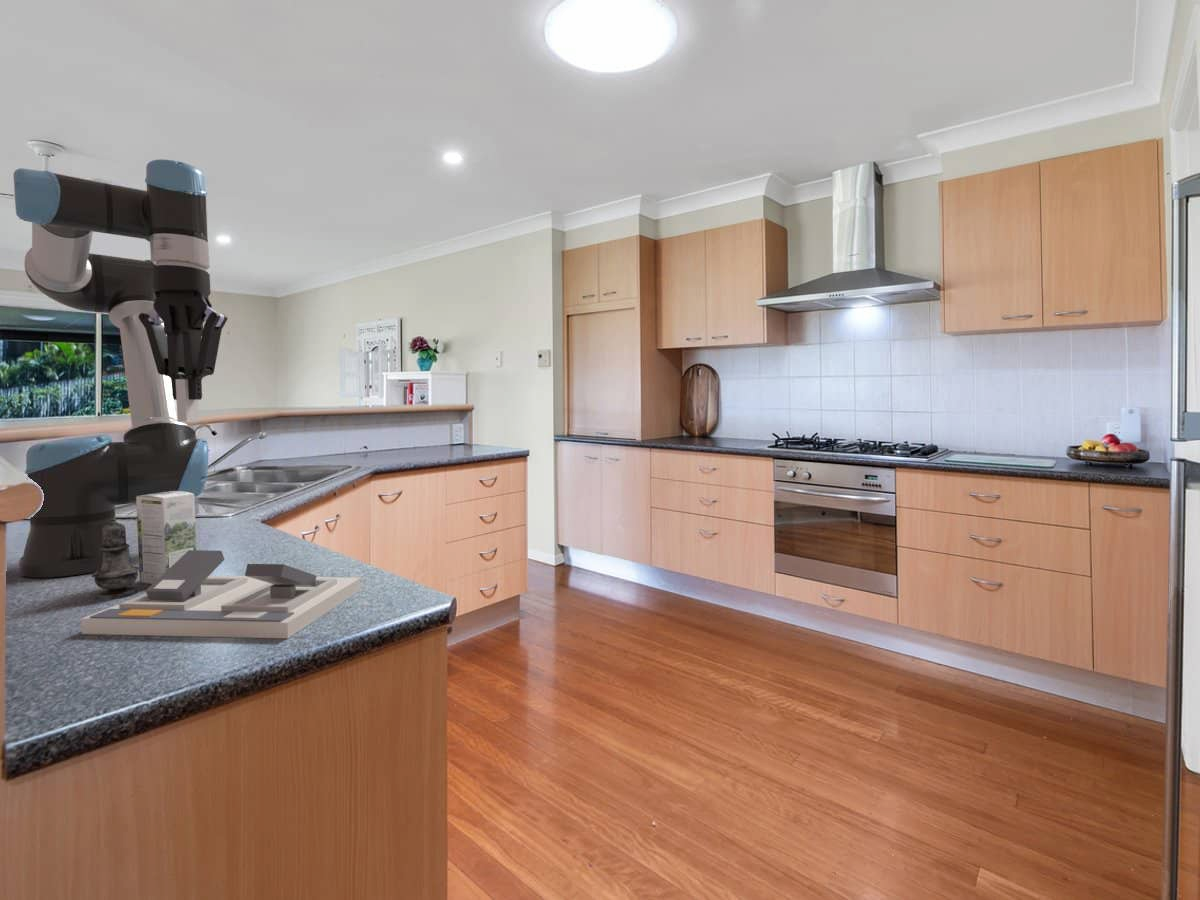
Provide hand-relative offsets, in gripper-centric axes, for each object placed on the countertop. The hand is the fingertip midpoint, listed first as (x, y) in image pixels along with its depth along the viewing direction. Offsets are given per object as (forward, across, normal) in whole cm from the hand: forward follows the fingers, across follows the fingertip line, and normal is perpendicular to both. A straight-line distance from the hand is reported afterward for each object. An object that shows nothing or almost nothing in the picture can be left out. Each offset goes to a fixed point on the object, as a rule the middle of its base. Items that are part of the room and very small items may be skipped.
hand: (188, 420), depth 97 cm
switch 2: (+21, +21, -11) cm, 32 cm away
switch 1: (+21, +7, -11) cm, 25 cm away
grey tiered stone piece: (+27, -9, -5) cm, 29 cm away
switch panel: (+26, +14, -11) cm, 32 cm away
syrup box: (+27, -7, +3) cm, 28 cm away
